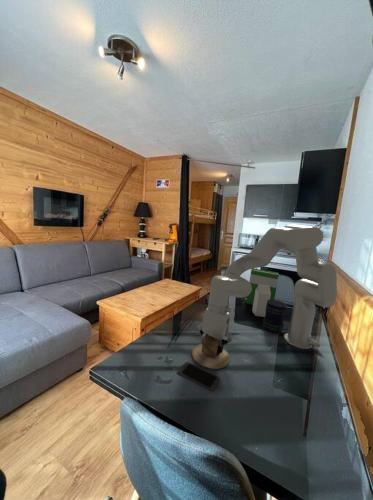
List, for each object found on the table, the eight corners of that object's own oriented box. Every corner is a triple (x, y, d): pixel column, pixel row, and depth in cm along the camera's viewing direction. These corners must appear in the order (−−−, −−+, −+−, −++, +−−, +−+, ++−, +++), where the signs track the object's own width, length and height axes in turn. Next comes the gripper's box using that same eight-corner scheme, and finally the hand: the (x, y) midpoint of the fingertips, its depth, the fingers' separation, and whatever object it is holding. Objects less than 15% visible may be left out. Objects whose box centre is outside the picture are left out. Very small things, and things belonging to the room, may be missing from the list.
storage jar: (261, 329, 115) (265, 303, 113) (263, 323, 124) (268, 298, 122) (281, 336, 111) (286, 308, 109) (282, 328, 119) (287, 303, 117)
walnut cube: (221, 351, 88) (223, 337, 87) (214, 358, 83) (216, 344, 82) (208, 345, 91) (210, 332, 90) (201, 351, 86) (203, 337, 85)
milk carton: (266, 317, 132) (272, 287, 129) (255, 316, 132) (260, 286, 130) (262, 312, 139) (267, 284, 136) (251, 311, 139) (256, 282, 137)
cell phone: (186, 363, 82) (186, 361, 82) (220, 379, 75) (221, 377, 75) (175, 373, 76) (176, 371, 76) (212, 393, 69) (212, 391, 69)
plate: (235, 355, 90) (235, 353, 90) (219, 375, 77) (219, 372, 77) (203, 341, 98) (203, 339, 98) (184, 356, 85) (185, 354, 85)
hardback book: (245, 303, 153) (251, 269, 149) (246, 299, 160) (251, 268, 156) (272, 309, 147) (278, 274, 144) (272, 305, 154) (278, 272, 151)
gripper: (242, 312, 83) (235, 355, 86) (203, 298, 92) (198, 338, 95) (235, 318, 77) (227, 364, 79) (194, 303, 86) (188, 345, 89)
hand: (211, 349), depth 87 cm, fingers closed on walnut cube, 5 cm apart
